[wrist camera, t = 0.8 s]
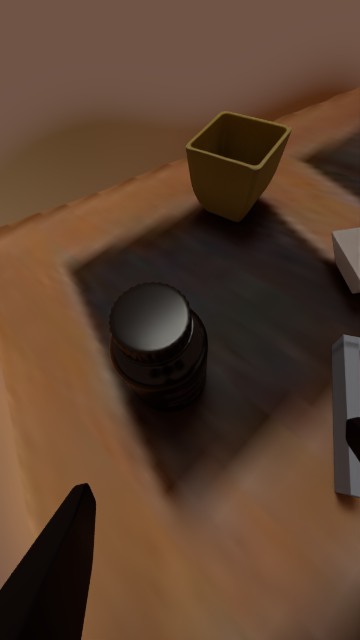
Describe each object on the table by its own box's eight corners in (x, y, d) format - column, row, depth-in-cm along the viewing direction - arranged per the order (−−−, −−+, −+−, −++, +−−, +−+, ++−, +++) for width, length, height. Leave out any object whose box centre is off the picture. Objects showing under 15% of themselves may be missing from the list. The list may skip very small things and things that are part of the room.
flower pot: (274, 198, 37) (294, 125, 29) (245, 238, 34) (259, 168, 26) (218, 180, 40) (223, 109, 32) (187, 215, 37) (183, 146, 29)
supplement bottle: (121, 374, 26) (67, 309, 16) (174, 331, 28) (158, 249, 17) (165, 431, 23) (135, 399, 13) (221, 380, 25) (236, 316, 15)
